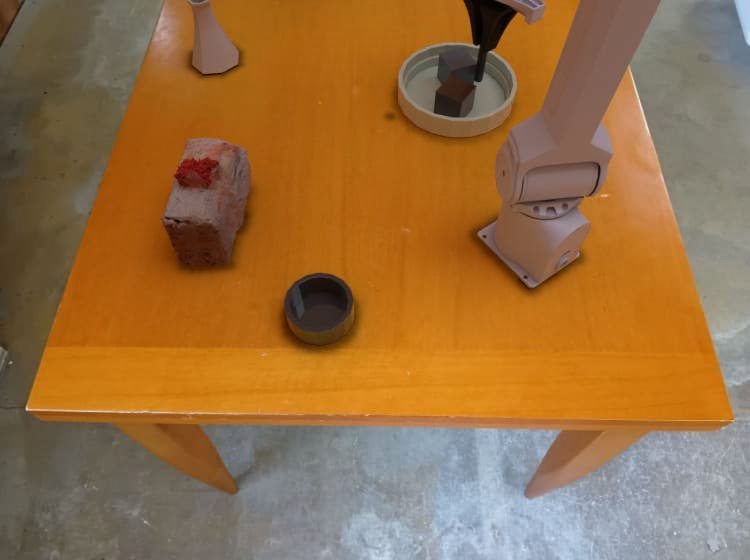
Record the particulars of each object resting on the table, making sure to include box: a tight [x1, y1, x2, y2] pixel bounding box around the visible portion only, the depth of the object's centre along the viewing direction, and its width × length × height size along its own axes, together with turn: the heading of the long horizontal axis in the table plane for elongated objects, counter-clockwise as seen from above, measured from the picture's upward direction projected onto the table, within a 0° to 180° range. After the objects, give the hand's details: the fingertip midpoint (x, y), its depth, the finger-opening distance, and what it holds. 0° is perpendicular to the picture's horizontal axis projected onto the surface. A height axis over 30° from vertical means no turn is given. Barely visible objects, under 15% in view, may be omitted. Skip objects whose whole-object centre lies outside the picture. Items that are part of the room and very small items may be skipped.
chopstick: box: [474, 29, 488, 82], centre depth 76 cm, size 1×1×9 cm
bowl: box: [397, 42, 518, 138], centre depth 80 cm, size 16×16×4 cm
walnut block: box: [434, 75, 477, 118], centre depth 77 cm, size 4×4×4 cm
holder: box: [283, 272, 356, 346], centre depth 61 cm, size 7×7×4 cm
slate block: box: [437, 47, 477, 84], centre depth 81 cm, size 4×4×4 cm
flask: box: [186, 0, 240, 75], centre depth 82 cm, size 7×7×10 cm
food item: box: [160, 137, 252, 266], centre depth 66 cm, size 14×8×10 cm, turn 178°
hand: (484, 45), depth 75 cm, fingers closed on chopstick, 1 cm apart
